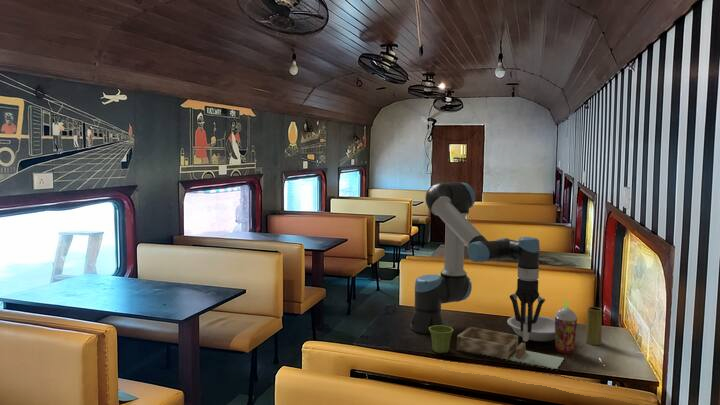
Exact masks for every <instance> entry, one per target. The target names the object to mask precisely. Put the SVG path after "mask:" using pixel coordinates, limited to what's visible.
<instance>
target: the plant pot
mask: <svg viewBox="0 0 720 405" xmlns="http://www.w3.org/2000/svg"><path fill="white" fill-rule="evenodd" d="M429 330H430V333H431V334H430V336H431V345H432V346H431V347H432V350H433V352H435V353H438V354H443V353H448V352H449V351H450V350H449V349H450V343H451V338H452V335H453V332H454V329H453V327H450V326H448V325H447V326H446V325H445V326H441V325H436V326H431V327H429Z"/></svg>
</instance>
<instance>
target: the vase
mask: <svg viewBox="0 0 720 405" xmlns="http://www.w3.org/2000/svg"><path fill="white" fill-rule="evenodd" d="M602 313H603V310H602V308H601V307H596V306H590V307H588V308H587V316H586V317H587V321H586V332H585V335H586V337H585V342H586V343H587V344H589V345H591V346H592V345H593V346H600V345H602V343H603V341H602V330H603V329H602V324H603V323H602V319H603V318H602V317H603V314H602Z"/></svg>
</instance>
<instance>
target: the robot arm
mask: <svg viewBox="0 0 720 405" xmlns="http://www.w3.org/2000/svg"><path fill="white" fill-rule="evenodd" d="M475 202H476V194H475V191H474V189H473V188H472V186H471V185H470V184H469V183H466V182H459V181H458V182H454V181H453V182H437V183H434V184H432V185H431V186H430V187H429V188H428V189H427V191H426V193H425V203H426V204H425V205H426V207H427V208H428V210H430V212H431V214H432V215H434V216H438V217H439V218H440V219H441V221H442V222H443V223H444V224H445V234H444V235H445V236H444V265H443V266H444V267H443V268H442V270H441V271H440V274H436V273H435V274H434V273H432V274H422V275H420V276H418V277H417V278H416V279H415V281H414V312H413V315H412V317H411V320H410V324H409V326H410V330H411V331H414V332H415V333H421V334H429V335H431V333H430V330H429V327H431V326H436V325H441V326H446V324H445V320H444V316H443V314H442V304H447V303H448V304H449V303H458V302H461V301H465V300H467V299H468V298H469V297H470V295H471V293H472V289H473V288H472V287H473V284H472V282H471V278H470V277H469V276H468V275H467V273H468V272H466V271H465V269H464V262H465V258H464V256H465V246H466V248H467V255H468V258H469V260H470V261H472V262H474V263H485V262H491V261H503V260H513V261H517V281H516V282H517V283H516V290H515V293H512V294H511V295H509V299H510V301H511V302H512V307H513V313H514V316H515V318H516V321H519V322H520V323H521V331H523V337H522V342H528V341H530V340H529V333H530V332H531V331H532V324H535V323H536V322H537V320H538V317H539V316H540V312H541V309H542V307H543V304H544V303H545V302H546V299H545V298H543V297H542V296H540V293H539V280H538V279H539V278H540V277H539V276H540V275H539V274H540V273H539V272H540V268H539V267H540V265H539V264H540V252H541V248H540V240H539V238H536V237H530V236H523V237H519V238H518V240H515V239H510V238H508V237H506V238H503V237H499V238H498V239H496V240H488V239H487V237H485V236H484V235H483V234H482V233H481V232H480V231H479V230H478V229H477V228H476V227H475V226H474V225H473V224H472V223H471V222H470V221H469V220H468V219H467V216H468V214H469V213H470V209H471V208H472V207H473V206H474V204H475ZM518 300H519V301H520V307H519V304H518ZM536 301H537V305H536V308H535V311H534V312H535V313H534V312H533V309H534V303H535V302H536ZM519 308H520V309H519ZM533 313H534V318H533V320H532V317H533ZM520 315H521V317H520ZM526 315H528V321H527V322H525V321H526V320H525V317H526Z"/></svg>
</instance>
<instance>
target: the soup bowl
mask: <svg viewBox="0 0 720 405" xmlns="http://www.w3.org/2000/svg"><path fill="white" fill-rule="evenodd" d="M534 315H535V314H534ZM534 315H533V317H532V320H533V318H534ZM520 317H521V314H520ZM525 320H526V321H525V322H527V321H528V314H526V317H525ZM506 322H507V324H508V326H509V327H511V328H512V330H513V331H514V332H515V333H516V335H518V337H521V338H523V331H521V323H520V322H519V321H516V318H515V315H514V316H510V317H509V318H508V319H507V321H506ZM554 340H555V318H551V317H548V316H544V315H543V316H542V315H539V317H538V320H537V322H536V323H535V324H532V331H531V332H530V333H529V340H528V341H533V342H543V343H544V342H550V341H554Z"/></svg>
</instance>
